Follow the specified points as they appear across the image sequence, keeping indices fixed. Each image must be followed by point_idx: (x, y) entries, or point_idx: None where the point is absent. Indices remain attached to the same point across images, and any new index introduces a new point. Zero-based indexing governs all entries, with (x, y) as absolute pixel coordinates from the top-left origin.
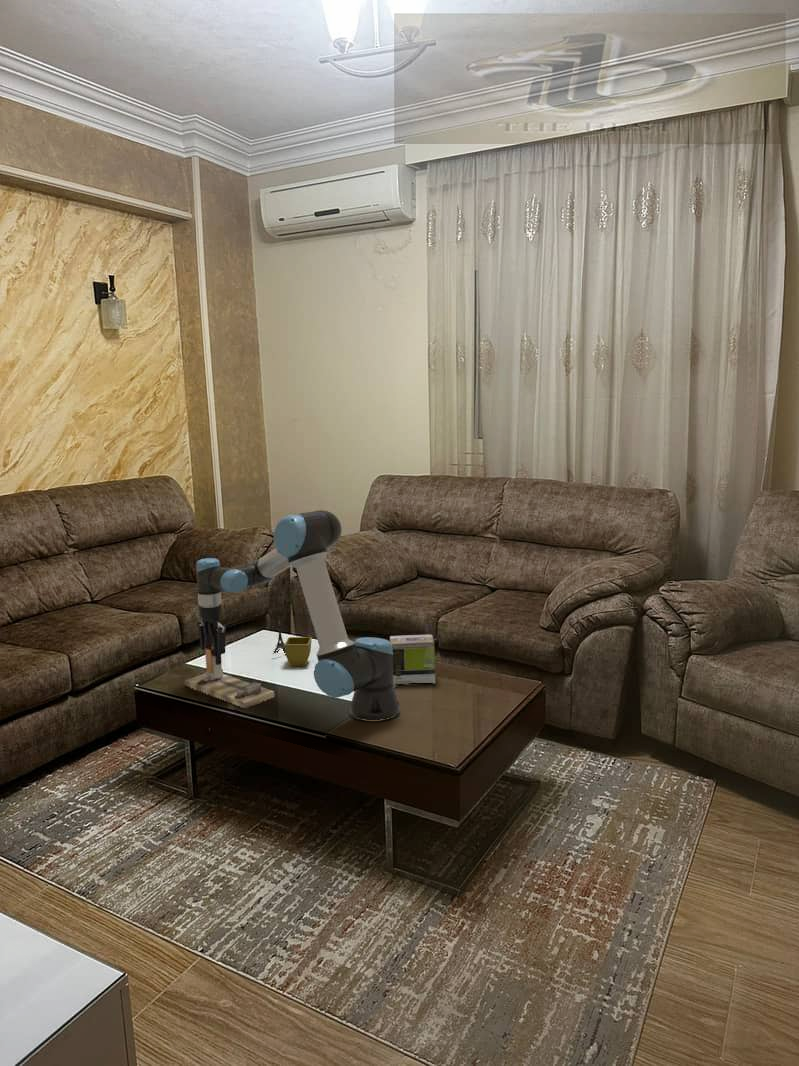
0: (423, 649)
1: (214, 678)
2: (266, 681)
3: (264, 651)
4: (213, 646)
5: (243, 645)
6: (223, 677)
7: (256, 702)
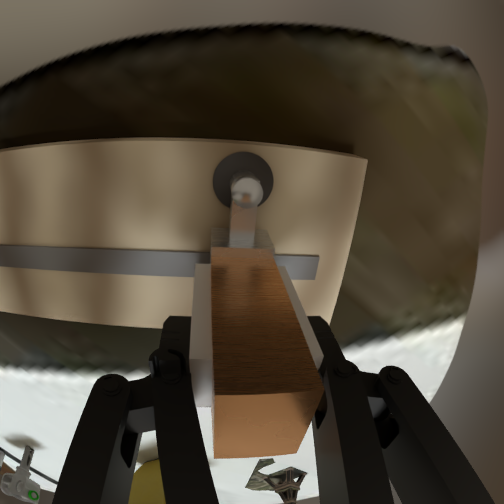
0: None
1: (210, 254)
2: (100, 375)
3: None
4: (193, 448)
5: None
6: None
7: None
